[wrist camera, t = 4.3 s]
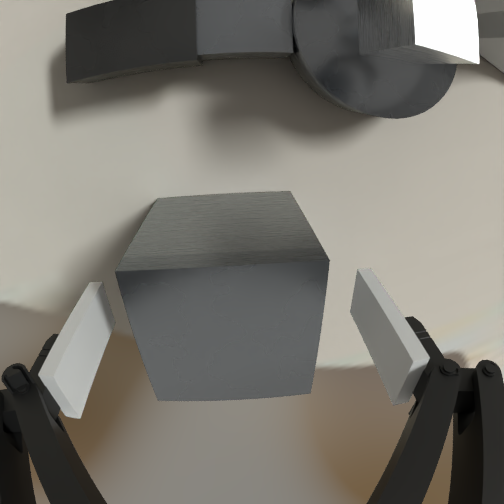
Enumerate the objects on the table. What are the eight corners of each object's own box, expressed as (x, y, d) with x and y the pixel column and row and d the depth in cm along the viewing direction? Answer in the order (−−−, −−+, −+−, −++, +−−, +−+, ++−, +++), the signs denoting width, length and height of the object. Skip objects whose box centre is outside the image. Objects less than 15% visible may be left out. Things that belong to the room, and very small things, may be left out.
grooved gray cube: (175, 305, 21) (157, 400, 14) (157, 198, 18) (114, 271, 11) (286, 299, 22) (310, 393, 15) (290, 191, 18) (329, 260, 11)
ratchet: (93, 126, 15) (10, 157, 8) (89, -15, 11) (15, -58, 4) (427, 120, 16) (519, 149, 9) (424, -10, 12) (510, -35, 5)
